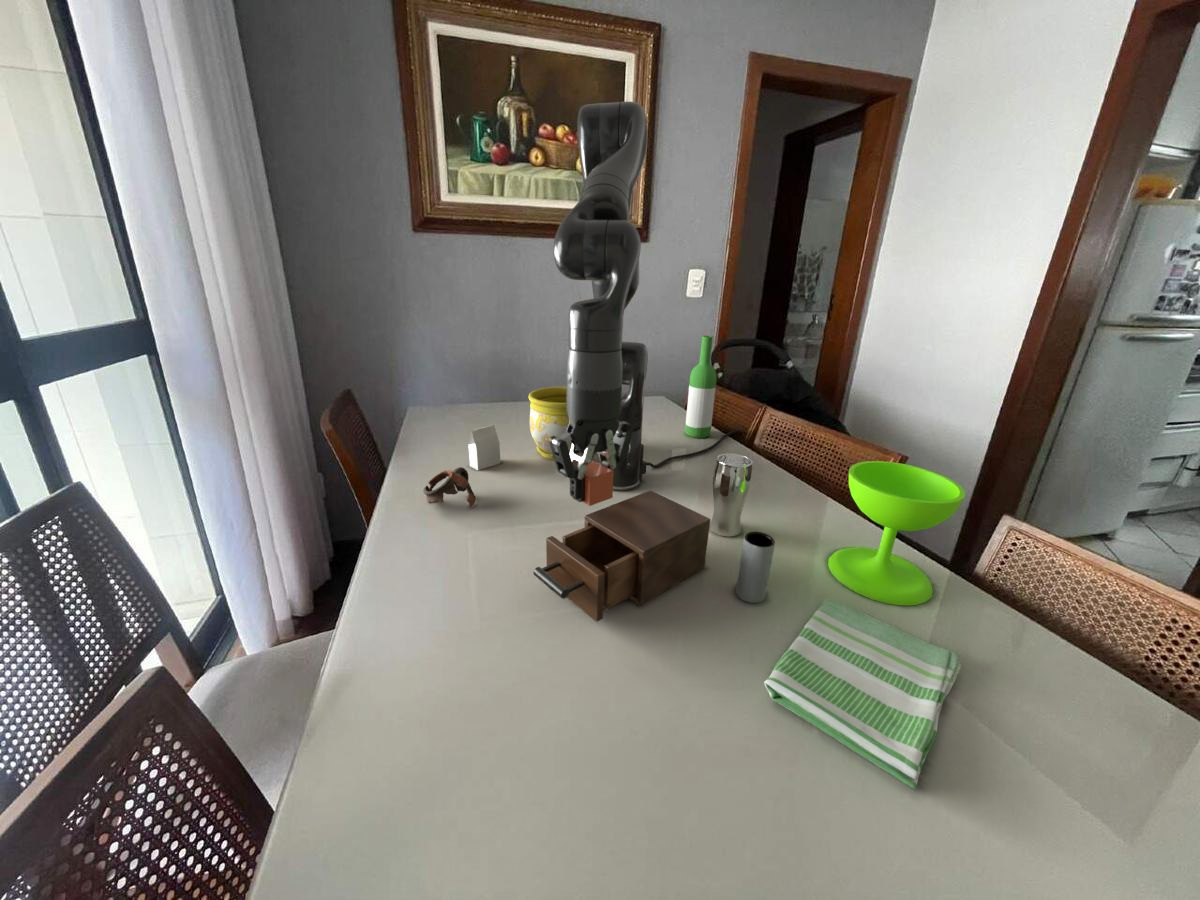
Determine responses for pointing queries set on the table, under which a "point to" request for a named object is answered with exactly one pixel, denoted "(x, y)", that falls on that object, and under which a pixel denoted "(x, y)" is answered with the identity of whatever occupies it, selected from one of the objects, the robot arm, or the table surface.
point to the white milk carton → (484, 447)
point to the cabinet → (656, 540)
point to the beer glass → (730, 493)
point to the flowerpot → (548, 417)
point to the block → (598, 483)
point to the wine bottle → (701, 394)
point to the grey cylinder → (755, 566)
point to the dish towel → (867, 686)
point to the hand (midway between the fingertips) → (591, 494)
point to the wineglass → (894, 528)
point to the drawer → (590, 570)
